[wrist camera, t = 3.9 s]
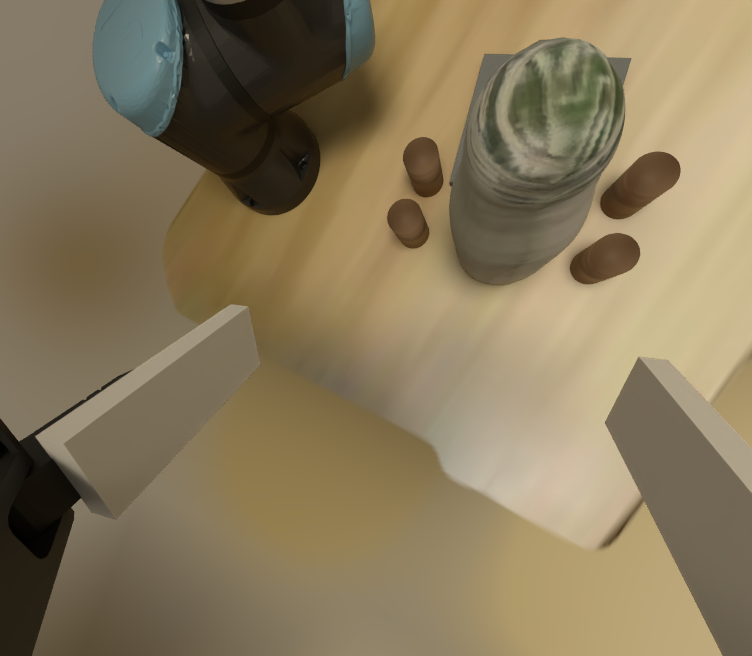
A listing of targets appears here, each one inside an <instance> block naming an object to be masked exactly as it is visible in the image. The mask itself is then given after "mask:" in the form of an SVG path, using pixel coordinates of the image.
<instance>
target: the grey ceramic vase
mask: <svg viewBox="0 0 752 656" xmlns="http://www.w3.org/2000/svg"><path fill="white" fill-rule="evenodd" d="M624 120H625V96H624V90H623V85H622V82H621V79H620V77H619V75H618V73H617V71H616V70H615V68H614V67H613V65H612V63H611V62H610V60H609V59H608V58H607V57H606V56H605V55H604V54H603V53H602V52H601V51H600V50H599V49H598V48H596V47H595V46H593V45H592V44H590V43H588V42H585V41H583V40H580V39H571V38H557V39H551V40H539V41H538V42H536V43H534V44H532V45H530V46H529V47H527V48H525V49H523V50H521V51H520V52H518V53H516V54H515V55H513V56H512V57H511V58H510V59H509V60H507V61H506V62H505V63H504V64H503V65H502V66H501V67H500V68H499V69H498V70H497V71H496V72H495V73H494V74H493V75H492V76H491V77H490V79H489V80H488V82H487V83H486V84H485V86H484V88H483V89H482V91H481V93H480V95H479V96H478V98H477V100H476V102H475V105H474V107H473V109H472V112H471V114H470V117H469V120H468V124H467V128H466V133H465V140H464V148H463V156H462V160H461V162H460V165H459V167H458V170H457V173H456V176H455V179H454V182H453V185H452V189H451V194H450V205H449V210H450V224H451V231H452V236H453V240H454V243H455V247H456V252H457V255H458V258H459V261H460V263H461V265H462V266H463V268H464V269H465V271H466V272H467V273H468V274H469V275H470V276H472V277H473V278H474V279H476V280H478V281H481V282H483V283H487V284H496V285H504V284H509V283H512V282H516V281H519V280H522V279H524V278H526V277H528V276H530V275H532V274H533V273H535V272H536V271H538V270H539V269H540V268H542V267H543V266H544V265H545V264H547V263H548V262H549V261H551V260H552V259H553V258H554V257H556V256H557V255H558V254H559V253H561V252H562V251H563V250H564V249H565V248H566V247H567V246H568V245H569V244H570V243H571V242H572V241H573V240H574V238H575V237H576V236H577V234H578V233H579V231H580V230H581V228H582V226H583V224H584V222H585V220H586V217H587V215H588V213H589V210H590V207H591V204H592V200H593V196H594V192H595V187H596V184H597V182H598V180H599V178H600V176H601V173H602V172H603V171H604V170H605V168H606V167H607V165H608V164H609V162H610V161H611V159H612V157H613V155H614V153H615V151H616V149H617V147H618V144H619V142H620V139H621V135H622V131H623V126H624Z"/></svg>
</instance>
